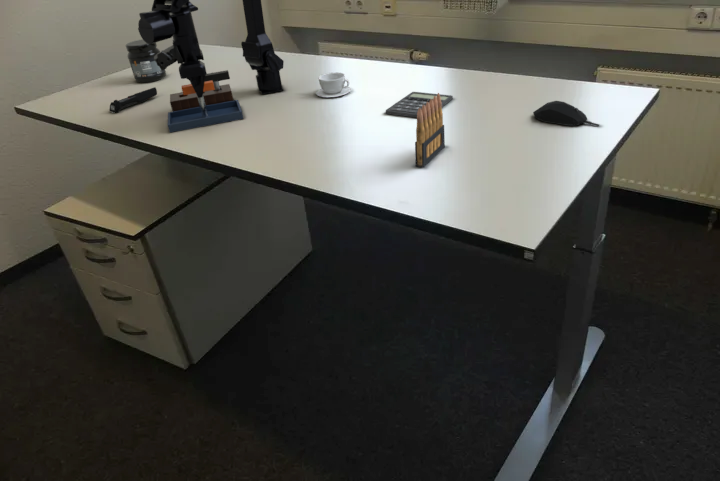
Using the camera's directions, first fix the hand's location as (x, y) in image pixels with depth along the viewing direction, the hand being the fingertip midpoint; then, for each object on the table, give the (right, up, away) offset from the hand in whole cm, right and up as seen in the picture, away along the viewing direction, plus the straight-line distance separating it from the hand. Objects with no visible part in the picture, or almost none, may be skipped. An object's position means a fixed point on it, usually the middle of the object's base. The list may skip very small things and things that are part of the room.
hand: (200, 95), depth 143 cm
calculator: (+57, -4, -4) cm, 57 cm away
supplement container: (-29, +17, +43) cm, 55 cm away
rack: (-2, -1, +11) cm, 12 cm away
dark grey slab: (+2, +1, +12) cm, 12 cm away
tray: (+1, -5, +3) cm, 6 cm away
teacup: (+34, +4, +12) cm, 37 cm away
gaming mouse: (+88, -11, -20) cm, 91 cm away
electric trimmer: (-25, +3, +20) cm, 33 cm away
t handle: (+1, -5, +3) cm, 6 cm away
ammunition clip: (+57, -20, -29) cm, 67 cm away
